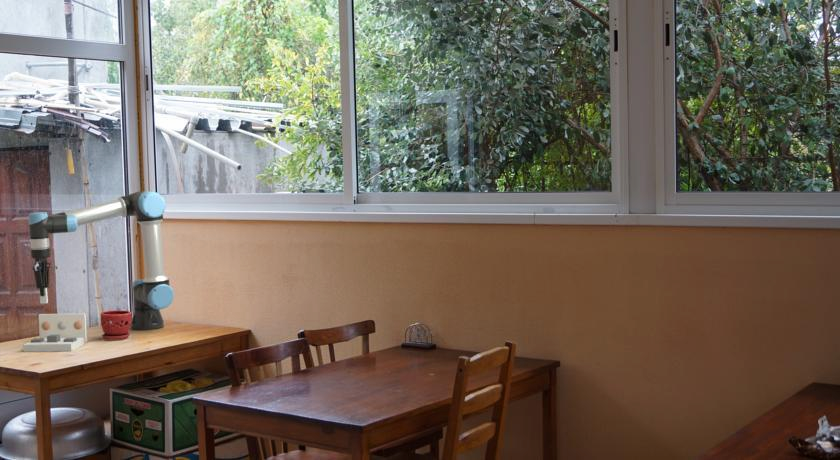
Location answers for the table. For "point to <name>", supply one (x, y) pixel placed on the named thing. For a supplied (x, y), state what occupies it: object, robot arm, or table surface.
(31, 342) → the outer button
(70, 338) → the outer button
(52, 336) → the middle button
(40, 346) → the console
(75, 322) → the pattern sign
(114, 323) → the plant pot
